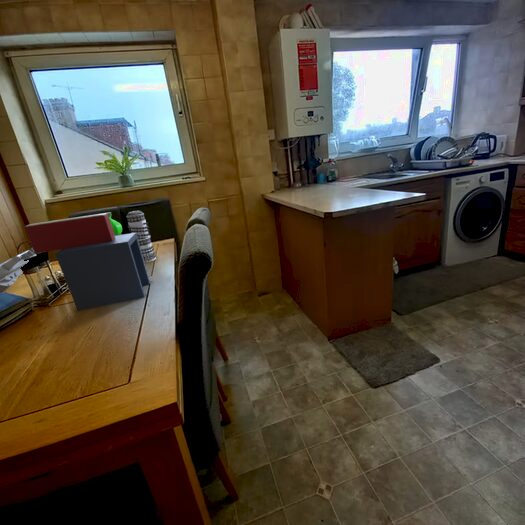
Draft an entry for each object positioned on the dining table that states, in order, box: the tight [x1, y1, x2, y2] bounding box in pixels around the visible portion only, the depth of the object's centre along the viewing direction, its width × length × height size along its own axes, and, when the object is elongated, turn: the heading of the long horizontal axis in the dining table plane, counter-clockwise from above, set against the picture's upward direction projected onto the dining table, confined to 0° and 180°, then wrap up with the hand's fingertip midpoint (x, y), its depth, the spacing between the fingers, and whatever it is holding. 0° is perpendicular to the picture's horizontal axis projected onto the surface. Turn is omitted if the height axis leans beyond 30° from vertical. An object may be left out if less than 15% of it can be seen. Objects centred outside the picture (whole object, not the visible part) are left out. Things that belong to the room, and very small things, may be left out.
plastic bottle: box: [105, 211, 123, 236], centre depth 146 cm, size 10×10×25 cm
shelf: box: [54, 232, 151, 311], centre depth 100 cm, size 22×14×21 cm, turn 103°
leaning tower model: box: [126, 210, 157, 264], centre depth 137 cm, size 9×9×25 cm
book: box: [23, 212, 115, 255], centre depth 94 cm, size 24×4×9 cm, turn 103°
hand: (28, 252), depth 93 cm, fingers open, 8 cm apart
